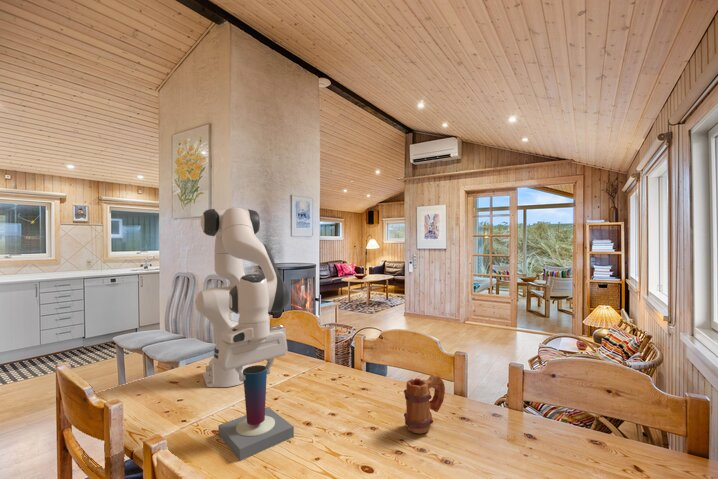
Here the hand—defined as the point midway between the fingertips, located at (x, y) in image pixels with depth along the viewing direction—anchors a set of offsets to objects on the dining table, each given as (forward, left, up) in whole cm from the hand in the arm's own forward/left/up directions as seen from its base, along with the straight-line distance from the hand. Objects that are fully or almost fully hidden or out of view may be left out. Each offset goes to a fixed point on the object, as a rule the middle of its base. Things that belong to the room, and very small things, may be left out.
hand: (255, 377), depth 100 cm
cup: (0, 0, -13) cm, 13 cm away
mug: (+31, +40, -18) cm, 54 cm away
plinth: (0, 0, -17) cm, 17 cm away
